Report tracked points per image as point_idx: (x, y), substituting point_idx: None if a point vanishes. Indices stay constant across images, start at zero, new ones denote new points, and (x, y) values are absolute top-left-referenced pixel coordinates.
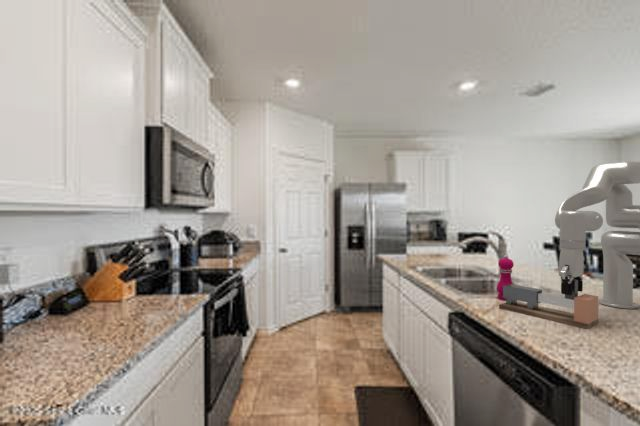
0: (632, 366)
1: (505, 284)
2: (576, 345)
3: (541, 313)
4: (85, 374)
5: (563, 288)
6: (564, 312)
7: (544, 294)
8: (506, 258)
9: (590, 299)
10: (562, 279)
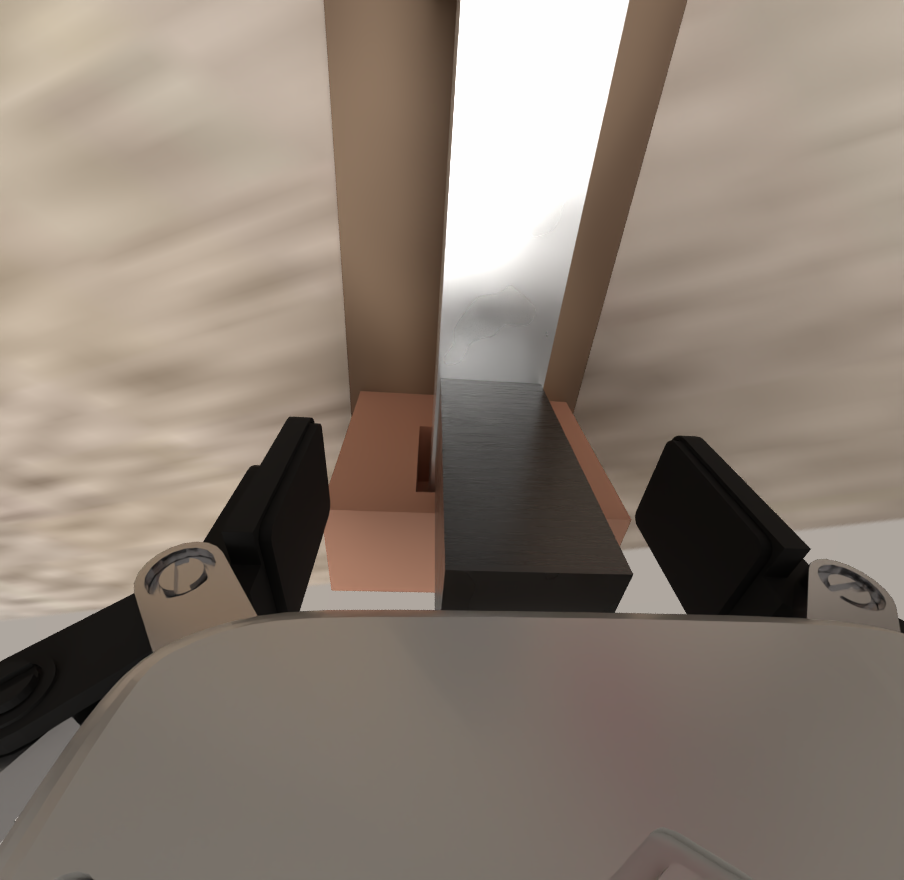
0: (33, 613)
1: None
2: (3, 473)
3: (356, 117)
4: None
5: (238, 496)
6: (578, 273)
7: (464, 82)
8: None
9: (389, 591)
10: (43, 657)
